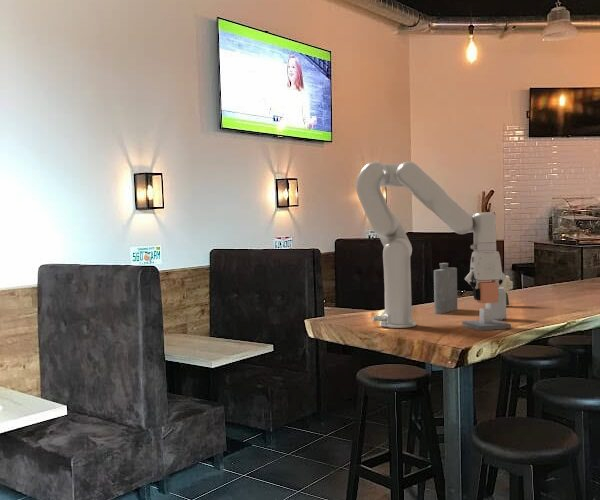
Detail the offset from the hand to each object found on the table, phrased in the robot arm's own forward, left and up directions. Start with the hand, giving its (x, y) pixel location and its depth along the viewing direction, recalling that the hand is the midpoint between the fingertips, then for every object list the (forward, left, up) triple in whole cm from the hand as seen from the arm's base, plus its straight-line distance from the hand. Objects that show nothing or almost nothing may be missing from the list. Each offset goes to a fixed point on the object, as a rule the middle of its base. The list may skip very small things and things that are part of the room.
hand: (486, 298), depth 225 cm
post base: (0, 0, -10) cm, 10 cm away
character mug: (+32, +44, -10) cm, 55 cm away
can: (+12, +14, -10) cm, 21 cm away
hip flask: (+4, +40, -10) cm, 41 cm away
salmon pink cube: (0, 0, -1) cm, 1 cm away
